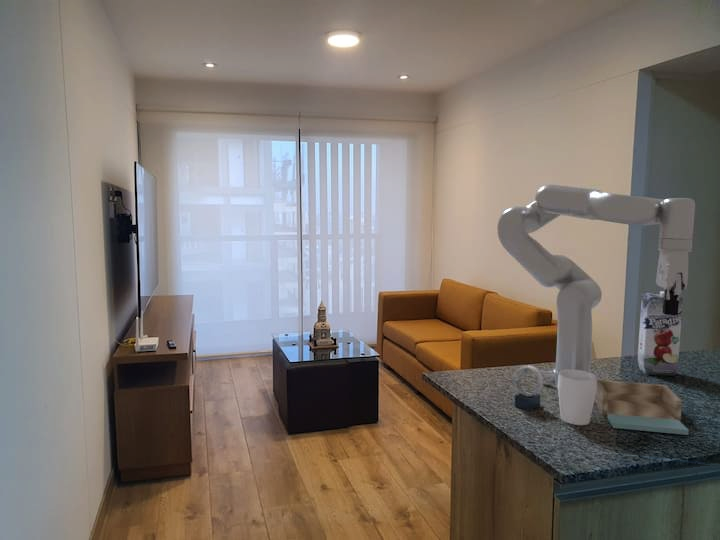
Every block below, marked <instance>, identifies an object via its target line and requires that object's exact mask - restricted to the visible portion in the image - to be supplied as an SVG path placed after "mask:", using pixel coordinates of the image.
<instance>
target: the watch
mask: <svg viewBox="0 0 720 540" xmlns="http://www.w3.org/2000/svg"><path fill="white" fill-rule="evenodd" d="M540 370H541V369H539V368H538V367H536V366H534V365H532V364H531V365H530V364H529V365H525V364H524V365H522V366H520V367H518V369H517V370H516V371H514V373H513V375H512V379H513V380H512V381H513V382H512V383H513V385H514V387H515V389H516V390H517V392H518V393H516V394H515V395H514V407H515V408H519V409H522V410H525V411H529V412H530V411H531V410H535V409H536V408H538V407H540V406H541V395H542V394H539V393H540V392H541V390H542V389H543V386H544V384H545V383H544V377H543V375H542V373H541V372H540ZM529 371H532V372H533V373H534V374H535V375H536V377H537V379H538V380H537V383H536V386H535V388H534V390H533V391H529V390H525V389H524V388H523V386H522V385H521V381H523V379H524V378H525V377H526V376H527V375H528V373H529Z"/></svg>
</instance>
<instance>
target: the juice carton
mask: <svg viewBox="0 0 720 540" xmlns="http://www.w3.org/2000/svg"><path fill="white" fill-rule="evenodd" d="M641 297H642V298H641V305H640V317H639V318H640V319H639V333H638V348H637V362H638V368H639V370H640V371H642V372H643V373H644V374H645V375H647V376H664V377H675V376H676V374H677V370H678V367H679V358H680V356H679V355H680V344H681V332H682V331H681V329H682V317H683V314H682V313H683V297H681V296H680V297H679V305H678V315H665V314H663V300H664V290H663V291H659V294H657V293H656V294H655V293H647V292H646V293H642V295H641Z"/></svg>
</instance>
